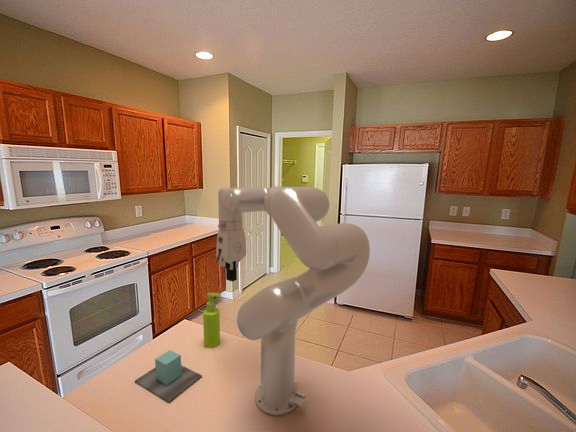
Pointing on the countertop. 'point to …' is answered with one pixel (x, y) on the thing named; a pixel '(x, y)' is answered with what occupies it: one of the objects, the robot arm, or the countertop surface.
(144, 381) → the grey base plate
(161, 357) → the teal cuboid
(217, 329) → the soap dispenser
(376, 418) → the countertop surface
